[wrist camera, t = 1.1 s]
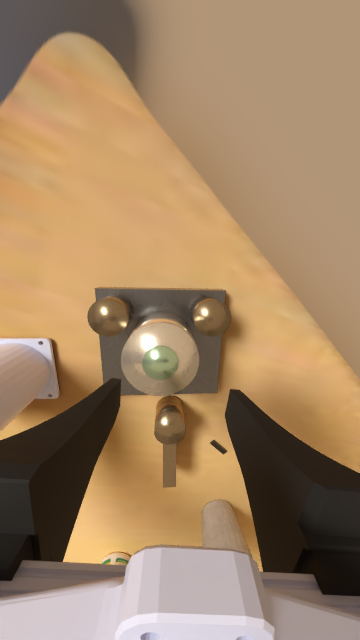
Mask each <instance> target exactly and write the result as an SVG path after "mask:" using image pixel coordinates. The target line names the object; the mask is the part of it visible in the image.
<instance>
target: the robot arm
mask: <svg viewBox="0 0 360 640" xmlns="http://www.w3.org/2000/svg"><path fill="white" fill-rule="evenodd" d="M41 341H42V342H43V344H42V343H41ZM50 394H52V395H50ZM59 395H60V392H59V386H58V379H57V373H56V367H55V361H54V354H53V348H52V342H51V340H50V339H48V338H0V432H1V431H2V430H3V429H4V428H5V427H6V426H7V425H8V424H9V423H10V422H11V421H12V420H13V419H14V418H15V417H16V416H17V415H18V414H19V413H20V412H22V411H23V410H24V409H25V408H26V407H27V406H28V405H29V404H30V403H31V402H32V401H33V400H34V399H56V398H58V397H59ZM120 396H121V379H117V378H111V379H110V380H108V381H107V382H106V383H105V384H103V385H102V386H101V387H99V388H98V389H97V390H96V391H94V392H93V393H92V394H90V395H89V396H88V397H86V398H85V399H83V400H82V401H80V402H79V403H77V404H76V405H74V406H73V407H71V408H69V409H68V410H66V411H64V412H63V413H61V414H59V415H57V416H55V417H53V418H51V419H49V420H47V421H45V422H43V423H41V424H39V425H37V426H35V427H33V428H30V429H28V430H26V431H24V432H21V433H19V434H16V435H14V436H11V437H8V438H6V439H3V440H0V640H360V473H358V472H356V471H354V470H352V469H350V468H347V467H345V466H343V465H341V464H340V463H338V462H336V461H334V460H332V459H330V458H329V457H327V456H325V455H323V454H322V453H320V452H318V451H316V450H315V449H313V448H312V447H310V446H308V445H307V444H305V443H304V442H302V441H301V440H299V439H298V438H296V437H295V436H293V435H292V434H291V433H289V432H288V431H286V430H285V429H284V428H282V427H281V426H280V425H278V424H277V423H276V422H275V421H274V420H272V419H271V418H270V417H269V416H268V415H266V414H265V413H264V412H263V411H262V410H261V409H260V408H259V407H257V406H256V405H255V404H254V403H253V402H252V401H251V400H250V399H249V398H248V397H247V396H246V395H245V394H244V393H242V392H241V391H240V390H234V389H230V393H229V398H228V403H227V407H226V412H225V418H226V423H227V428H228V432H229V435H230V438H231V441H232V444H233V447H234V450H235V453H236V456H237V459H238V462H239V465H240V468H241V471H242V474H243V478H244V482H245V486H246V490H247V494H248V499H249V503H250V508H251V512H252V516H253V521H254V526H255V531H256V536H257V541H258V546H259V551H260V556H261V562H262V567H263V572H259V568H258V565H257V562H256V561H254V560H253V559H252V558H251V557H250V556H249V555H248V554H247V553H246V552H244V551H239V550H235V549H230V548H212V547H193V546H175V545H155V546H146V547H145V548H143V549H141V550H139V551H137V552H136V553H134V554H133V555H132V556H131V558H130V560H129V562H128V564H127V565H111V564H90V563H70V562H63V559H64V556H65V552H66V549H67V546H68V543H69V540H70V537H71V534H72V531H73V528H74V525H75V522H76V519H77V516H78V512H79V509H80V507H81V504H82V501H83V498H84V495H85V492H86V489H87V486H88V484H89V481H90V478H91V475H92V472H93V470H94V467H95V464H96V462H97V460H98V457H99V455H100V453H101V451H102V449H103V446H104V444H105V442H106V440H107V438H108V436H109V433H110V431H111V429H112V427H113V425H114V422H115V420H116V417H117V414H118V411H119V408H120Z"/></svg>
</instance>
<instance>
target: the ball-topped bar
mask: <svg viewBox="0 0 360 640" xmlns="http://www.w3.org/2000/svg"><path fill="white" fill-rule="evenodd" d="M154 433H155V437H156V439H157V440H158V441H159V442H161V443H163V488H164V487H176V451H177V443H178V442H180V441H181V440H182V439H183V438H184V436H185V433H186V428H185V420H184V411H183V404H182V402H181V401H180V399H178V398H177V397H174V396H167V397H164V398H162V399H161V400H159V402H158V403H157V406H156V419H155V432H154Z"/></svg>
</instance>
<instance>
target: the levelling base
mask: <svg viewBox="0 0 360 640" xmlns="http://www.w3.org/2000/svg"><path fill="white" fill-rule="evenodd" d="M95 294H96V302H95V303H94V304H93V305H92V306H91V307H90V309H89V311H88V322H89V325H90V326H91V328H92V329H93V330H94V331H95V332H96V333H98V334H99V338H100V349H101V360H102V371H103V382H104V384H105V383H106V382H107V381H108V380H110V379H111V378H117V379H121V395H148V394H150V395H155V396H164V395H170V394H193V393H217V388H218V376H219V364H220V352H221V341H222V333H223V332H225V331H226V330H227V328H228V327H229V325H230V322H231V314H230V311H229V309H228V307H227V306H226V305H225V294H226V290H223V289H180V288H125V287H98V288H95ZM210 443H211V445H213V446H214V447H215V448H216V449H217V450H219V451H220V452H221V453H222V454H225V453H226V452H227V450H225V449H224V448H223V447H222V446H221V445H219V444H218V443H217V442H216V441H215V440H213V441H212V442H210Z"/></svg>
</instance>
